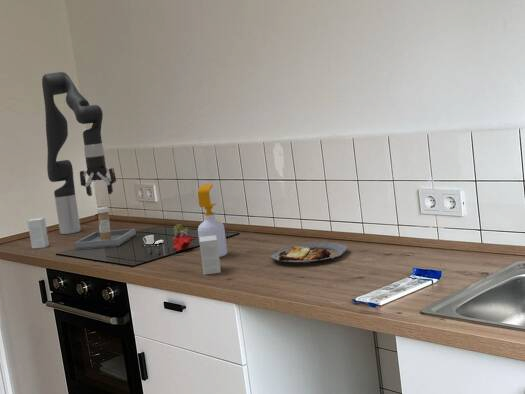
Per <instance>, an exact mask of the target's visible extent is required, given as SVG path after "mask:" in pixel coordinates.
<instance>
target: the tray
mask: <svg viewBox="0 0 525 394" xmlns="http://www.w3.org/2000/svg"><path fill="white" fill-rule="evenodd" d="M110 233H111V240H100V239H101V238H100V231H94V232H92V233H90V234H88V235H87V236H85V237H82V238H80V239H78V240H77V241H75V242H74V250H75V251H81V250H80V249H85V250H95V248H98V249H106V248H105V247H111V248H117V247H116V246H119V245H121V244H122V245H124V244H125V243H126V242H125V241H127V240H128V239H130V238H131V237H133V236H134V235H136V236H137V234H136V233H137V231H136V228H128V229H115V230H114V229H113V230H110ZM133 238H134V237H133ZM130 240H131V239H130ZM124 242H125V243H124ZM127 242H128V241H127ZM123 243H124V244H123ZM122 245H121V246H122ZM119 247H120V246H119Z"/></svg>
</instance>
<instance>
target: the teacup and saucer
mask: <svg viewBox="0 0 525 394" xmlns="http://www.w3.org/2000/svg"><path fill="white" fill-rule="evenodd" d="M142 240H143V242H144V244H153V243H154V242H155V243H154V245H155V244H159V243H162V244H164V239H158V240H156V241H155V236H154V234H148V235H145V236H144V237H143V238H142Z"/></svg>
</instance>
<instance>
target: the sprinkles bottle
mask: <svg viewBox="0 0 525 394" xmlns="http://www.w3.org/2000/svg"><path fill="white" fill-rule="evenodd" d="M96 213H97V219H98V230H99V231H98V232H100V238H101V239H100V240H111V233H110V231H111V225H110V224H111V223H110V217H109V207H107V206H102V207H101V206H100V207H98V208H96Z"/></svg>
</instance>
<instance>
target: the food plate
mask: <svg viewBox="0 0 525 394" xmlns="http://www.w3.org/2000/svg"><path fill="white" fill-rule="evenodd" d="M347 249H348V246H347V245H345V244H341V243H338V242H328V241H324V242H323V241H316V242H312V241H311V242H303V243H296V244H292V245H287V246H284V247H282V248H277V249H275V250H274V251H273V252H272V254H270V256H269V257H270V259H271V260H273V261H275V262H280V263H299V264H301V263H302V264H313V263H315V262H318V261H319V262H320V261H327V260H333V259H336V257H337V258H339V256H340V257H341V256H342V255H343V254H344V253H345V252H346V251H347ZM310 250H313V251H312V255H311V256H307V255H308V254H309V252H310ZM327 250H333V251H335V252H337V253H340V254H337V255H336V256H333V257H330V255H331V253H330V252H329V251H327ZM330 258H331V259H330Z"/></svg>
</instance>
